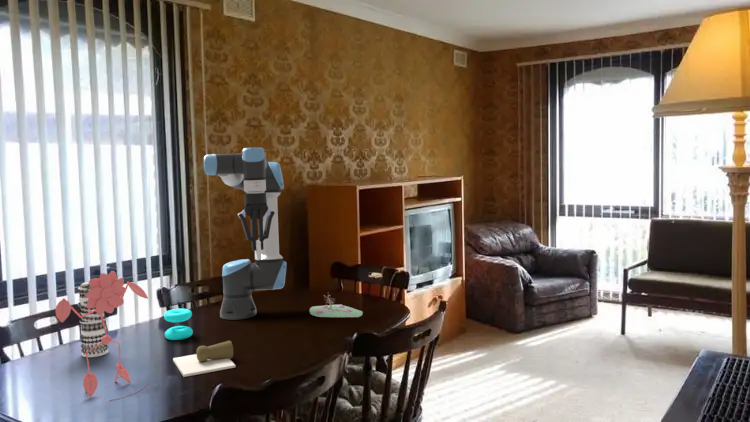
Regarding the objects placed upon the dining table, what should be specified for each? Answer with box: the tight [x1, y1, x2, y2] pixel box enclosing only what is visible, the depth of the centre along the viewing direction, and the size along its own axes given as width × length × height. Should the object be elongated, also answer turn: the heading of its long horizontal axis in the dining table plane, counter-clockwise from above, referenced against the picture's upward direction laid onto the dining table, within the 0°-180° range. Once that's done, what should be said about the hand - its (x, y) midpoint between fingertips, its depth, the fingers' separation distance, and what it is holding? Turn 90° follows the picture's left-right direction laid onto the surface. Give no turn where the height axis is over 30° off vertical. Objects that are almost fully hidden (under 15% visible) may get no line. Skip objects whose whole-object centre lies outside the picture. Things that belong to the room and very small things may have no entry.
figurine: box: [55, 270, 149, 402], centre depth 175 cm, size 15×26×35 cm, turn 143°
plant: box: [309, 291, 364, 318], centre depth 262 cm, size 25×21×9 cm
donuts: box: [163, 308, 194, 341], centre depth 230 cm, size 10×10×10 cm
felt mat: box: [172, 353, 236, 378], centre depth 199 cm, size 18×16×1 cm
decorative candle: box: [76, 281, 109, 358], centre depth 212 cm, size 9×9×25 cm
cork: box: [195, 340, 234, 362], centre depth 201 cm, size 6×6×11 cm
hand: (258, 259), depth 215 cm, fingers closed
